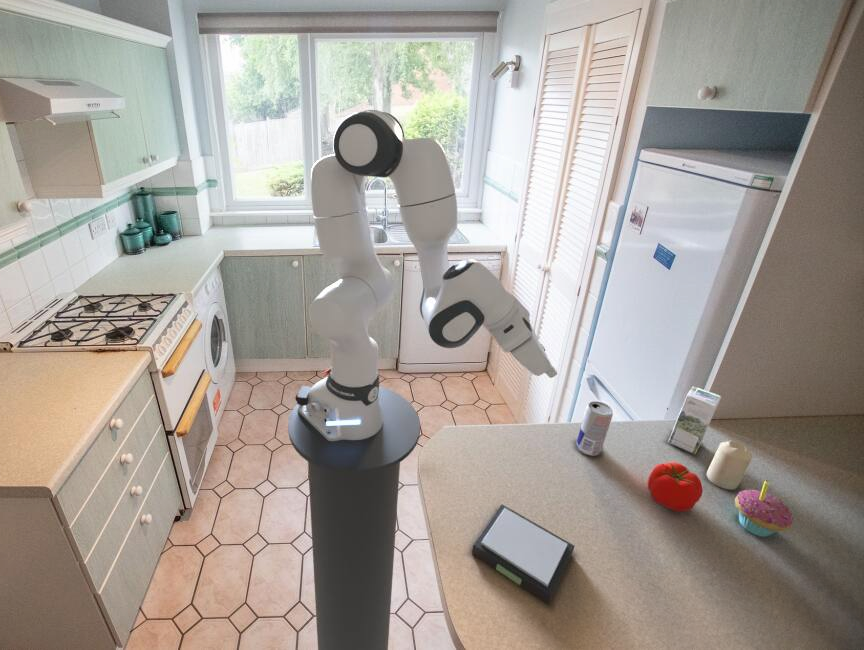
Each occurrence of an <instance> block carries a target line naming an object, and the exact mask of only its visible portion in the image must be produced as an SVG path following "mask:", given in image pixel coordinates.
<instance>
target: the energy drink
mask: <svg viewBox="0 0 864 650" xmlns="http://www.w3.org/2000/svg"><path fill="white" fill-rule="evenodd" d="M613 415H614V413H613V408H612V407H611V406H609V405H608V404H607V403H605V402H601V401H595V400H594V401H590V402H589V403H588V405H587V406H586V407H585V411H584V414H583V418H582V421H581V425H580V429H579V432H578V436H577V439H576V443H575V446H576V448H577V449H578V450H579V452H581V453H582V454H584V455H587V456H590V457H595V456H598V455H600V454H601V453H602V450H603V447H604V443H605V441H606V438H607V435H608V431H609V429H610V425H611V422H612V418H613Z"/></svg>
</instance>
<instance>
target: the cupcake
mask: <svg viewBox="0 0 864 650" xmlns="http://www.w3.org/2000/svg"><path fill="white" fill-rule="evenodd" d="M769 485H770V482H769V481H768V478H766V479H765V481H764V482H763V486H762V489H761V490H756V489H750V488H749V489H743V490H740V491H739V492H738V493H737V495H736V496H735V498H734V505H735V508H736V510H738V511H739V512H738V521H739V524H740V525H742V526H741V527H743V528H744V529H745V530H746V531H747V532H750V533H751V534H753V535H755V536H758V537H768V536H770V535H772V534H774V533H776V532H781V533H784V532H786V531H789V530H791V529H792V527H793V523H794V519H795V517H794V516H793V513H792V511H791V510H790V508H789V506H787V505H786V504H785V503H784V502H783V501H782V500H781V499H780V498H777V497H776V496H775V495H773V494H770V493H767V491H768V488H769Z"/></svg>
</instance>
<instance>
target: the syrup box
mask: <svg viewBox="0 0 864 650" xmlns="http://www.w3.org/2000/svg"><path fill="white" fill-rule="evenodd" d="M721 399H722V396H721V395H719V394H717V393H713V392H711V391H709V390H705V389H702V388H700V387H697V386H694V385H692V387H691V388H690V390H689V391H688V393H687V394H686V397H685V399H684V402H683V404H682V406H681V408H680V412H679V414H678V416H677V419H676V422H675V424H674V426H673V428H672V432H671V434H670V436H669V439H668V441H667V443H668V444H669V445H672V446H675V447H677V448H678V449H681V450H683V451H685V452H687V453H690V454H692V455H696V454H697V452H698V450H699V448H700V446H701V444H702V442H703V440H704V437H705V435H706V433H707V430H708V428H709V425H710V423H711V421H712V419H713V417H714V415H715V413H716V411H717V409H718V406H719V404H720V401H721Z"/></svg>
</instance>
